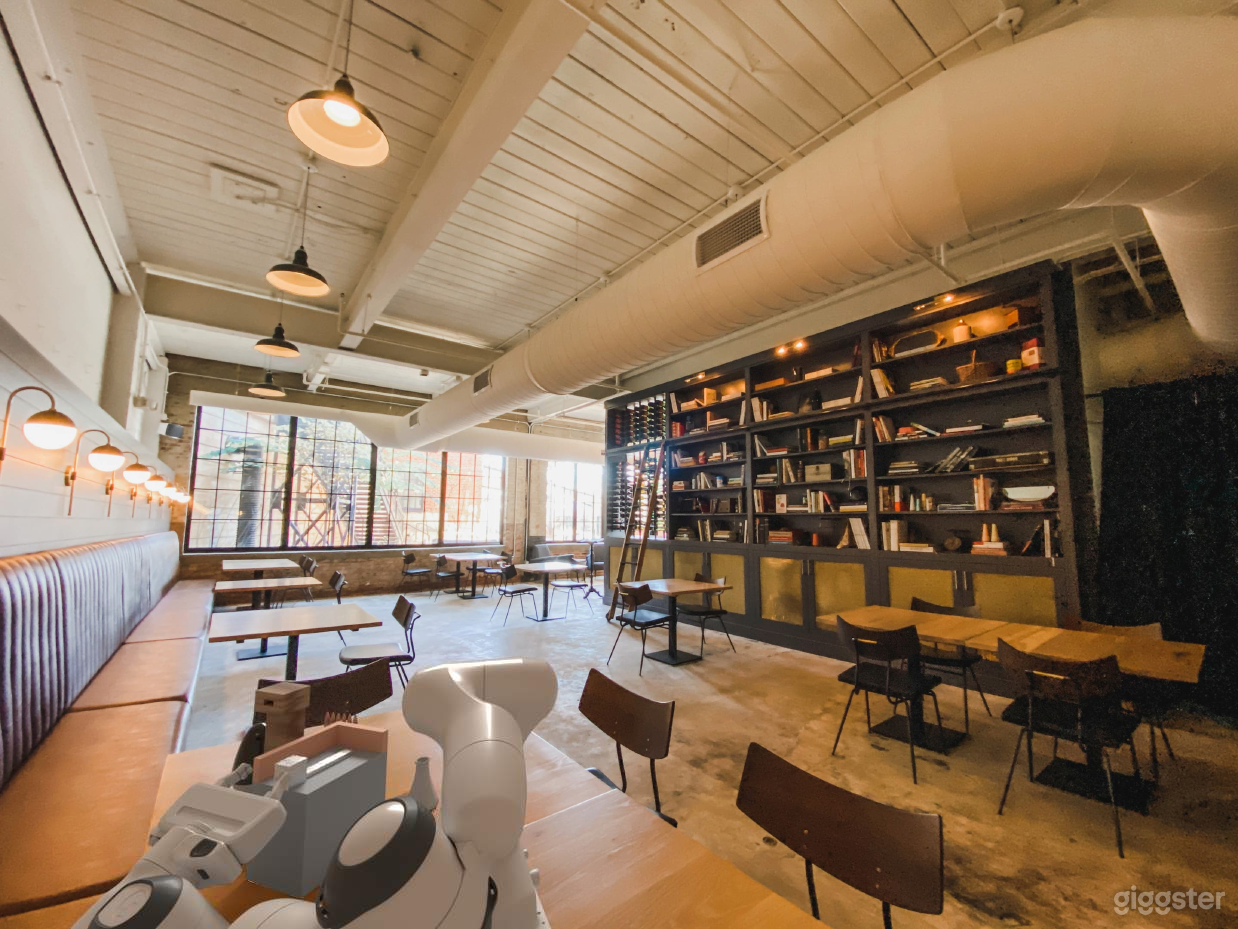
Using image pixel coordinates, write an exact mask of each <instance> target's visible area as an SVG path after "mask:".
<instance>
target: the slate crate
mask: <svg viewBox="0 0 1238 929" xmlns="http://www.w3.org/2000/svg"><path fill="white" fill-rule="evenodd" d="M344 749H350V750H354V752H353V755H351V756H349V757H347V758H345V759H343V760H342V761H340V762H338V763H336V764H334V765H332V766H330V767H328V768H326V769H324V770H322V771H321V772H319V773H317V774H315V775H313V776H311V777H309V778H307V779H306V782H304V783H302V784H300V785H298V786H296V787H294V788H293V789H291V790H289V791H286V790H284V791H283V794H282V797H281V800H280V802H281V804H282V805H283V807H284V808H285V810H286V812H287V815H286V819H285V822H284V824H283V825H282V826H281V828H280V829H279V830H278V831H277V833H276V834H275V835H274V836H273V837H272V839H271V840H270V841H269V842H268V843H267V844H266V845H265V847H264V848H263V849H262V850H261V851H260V852H259V853H258V854H257V855H256V856H255V857H254V858H253V859H251V860H250V861H249V862H247V863H245V865H246V866H245V878H244V880H245V879H246V880H249V881H252V882H254V883H257V884H259V885H258V886H260V885H262V886H261V887H263V886H265V888H267V889H268V890H269V889H270V890H273V891H275V892H276V891H277V892H278V893H282V894H285V895H288V896H291V897H294V898H295V899H298V900H302V899H303V898H304V897H306V896H307V895H308V894H310V893H311V892H312V891H314V890H315V889H316V888H318V887H320V886H321V884H322V882H323V880H324V878H325V876H326V871H327V868H328V866H329V863H330V861H331V859H332V857H333V855H334V853H335V851H336V849H337V847H338V845H339V843H340V841H341V839H342V838H343V836H344V835H345V833H346V832H347V831H348V829H349V828H350V827H351V826H352V824H353V823H354V822H355V821H356V820H357V819H358V818H359V817H360V816H361V815H363V814H364V813H365V812H366V811H368V810H369V809H370V808H372V807H373V806H375V805H377V804H378V803H380V802H382V801H385V800H386V790H387V766H388V749H387V750H386V751H385V752H383V753H378V752H373V751H368V750H363V749H357V748H352V747H347V746H342V745H335V746H333V747H331V748H329V749H327V750H325V751H323V752H321V753H319V754H317V755H315V756H312V757H310V758H308V759H307V768H309V767H311V766H313V765H315V764H317V763H319V762H320V761H322V760H324V759H326V758H328V757H330V756H332V755H334V754H336V753H338V752H340V751H342V750H344ZM273 780H274V775H273V776H271V777H269V778H267V779H265V780H263V781H261V782H259V783H257V782H253V781H252V793H251V794H254V795H258V796H262V797H263V796H264V795H265V794H266V793H267V792H268V791H272V789H273V787H274V781H273ZM254 883H253V884H254ZM257 884H256V885H257Z"/></svg>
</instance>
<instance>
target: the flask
mask: <svg viewBox="0 0 1238 929" xmlns="http://www.w3.org/2000/svg"><path fill="white" fill-rule="evenodd" d="M430 761H431V757H430V756H428V755H425V756H418V757H417V758H416V759H415V760H414V764H415V773H414V778H413V781H412V784H411V787H410V791H409V793H408V795H407V796H410V797H412V798H414V799H416V800H417V801H419V802H420V803H421V804H422V805H424V806H425V807H426V808H427V809H428V810H429V811H430V812H431V811H432V810H434V809H435V808H436V807H437V805H438V803H439V800H440V799H439V797H438V794H437V792H436V788H435V786H434V783H433V780H432V776H431V773H430Z"/></svg>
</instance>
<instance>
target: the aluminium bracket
mask: <svg viewBox="0 0 1238 929" xmlns="http://www.w3.org/2000/svg"><path fill="white" fill-rule="evenodd" d="M353 752H354V750H350V749H344V750H342V751H340V752H338V753H336V754H334V755H332V756H330V757H328V758H326V759H324V760H322V761H320V762H319V763H317V764H315V765H313V766H311V767H309V768H307V759H308V758H306V757H301V756H296V755H292V756H290V757H288V758H286V759H284V760H282V761H280V762H277V763H275V772H274V779H275V778H276V777H277V776H278V775H279V774H280V772H287V773H290V775H291V777H292V780H291V781H290V783H289V784H288V785H287V786H286V787H285V788H284V790H286V791H289V790H291V789H293V788H294V787H296V786H298V785H300V784H302V783H304V782H306V779H307V778H309V777H311V776H313V775H315V774H317V773H319V772H321V771H322V770H324V769H326V768H328V767H330V766H332V765H334V764H336V763H338V762H340V761H342V760H343V759H345V758H347V757H349V756H351V755H353ZM274 785H275V782H274Z"/></svg>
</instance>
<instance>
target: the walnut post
mask: <svg viewBox="0 0 1238 929" xmlns="http://www.w3.org/2000/svg"><path fill="white" fill-rule="evenodd" d="M310 699H311V685H308V684H300V683H294V682H287V681H281V682H279V683H275V684H272V685H269V686H266V687H262V688H259V689H257V690H255V694H254V706H253V712H256V713H261V714H262V713H263V714H266V719H265V722H266V731H265V745H264V753H267V752H269V751H271V750H273V749H276V748H278V747H280V746H283V745H285V744H287V743H290V742H292V741H294V740H296V739H299V738H301V737H303V736H305V725H306V724H305V723H306V708H308V707H309V706H310Z"/></svg>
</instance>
